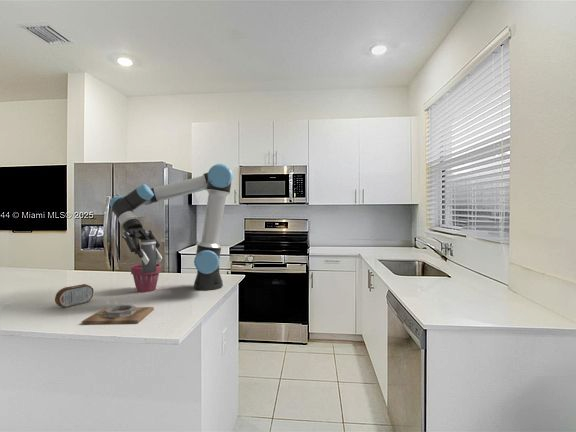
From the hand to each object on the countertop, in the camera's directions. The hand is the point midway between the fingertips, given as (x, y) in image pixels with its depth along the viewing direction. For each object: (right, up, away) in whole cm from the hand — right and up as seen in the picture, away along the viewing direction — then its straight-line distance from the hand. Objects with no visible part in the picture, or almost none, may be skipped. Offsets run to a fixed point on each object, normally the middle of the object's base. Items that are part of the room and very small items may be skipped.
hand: (154, 261), depth 141 cm
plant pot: (-15, -19, +27) cm, 36 cm away
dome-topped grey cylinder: (-3, -5, +2) cm, 6 cm away
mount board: (-7, -20, -15) cm, 26 cm away
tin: (-35, -20, +1) cm, 40 cm away
